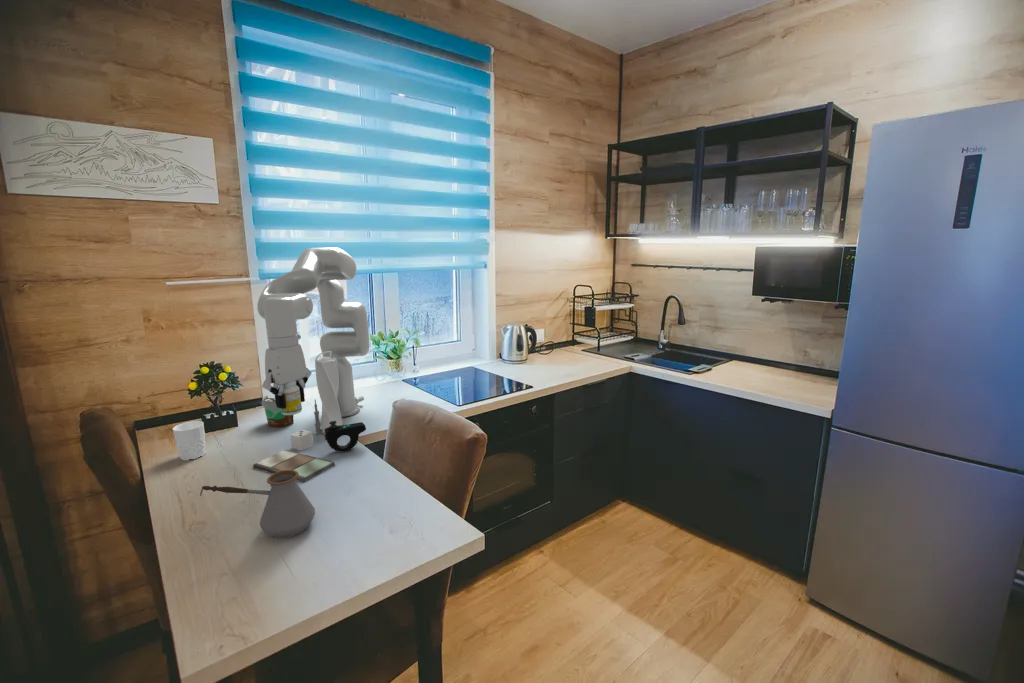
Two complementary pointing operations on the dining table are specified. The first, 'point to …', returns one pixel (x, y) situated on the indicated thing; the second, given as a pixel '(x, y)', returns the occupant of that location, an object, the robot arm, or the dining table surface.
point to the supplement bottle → (291, 399)
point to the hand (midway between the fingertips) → (290, 403)
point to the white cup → (190, 439)
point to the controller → (342, 430)
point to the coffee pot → (280, 504)
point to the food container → (275, 414)
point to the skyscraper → (327, 393)
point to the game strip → (294, 464)
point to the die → (301, 439)
